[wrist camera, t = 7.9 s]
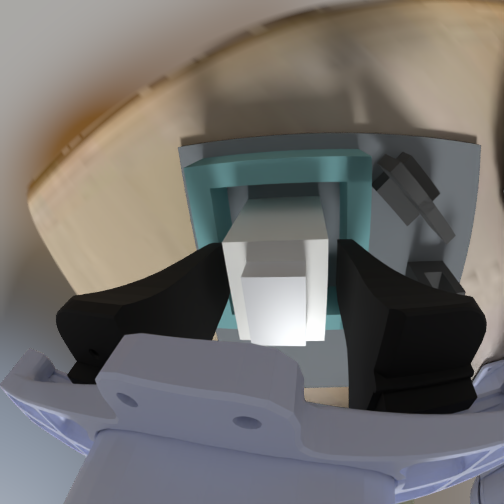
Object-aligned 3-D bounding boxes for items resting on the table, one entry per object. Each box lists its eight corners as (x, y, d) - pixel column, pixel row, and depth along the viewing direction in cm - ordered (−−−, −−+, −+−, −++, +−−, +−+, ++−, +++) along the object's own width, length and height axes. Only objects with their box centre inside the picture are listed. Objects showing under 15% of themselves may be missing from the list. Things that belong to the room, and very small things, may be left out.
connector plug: (319, 195, 13) (330, 254, 8) (320, 275, 15) (324, 359, 10) (248, 199, 14) (213, 256, 9) (257, 276, 16) (235, 357, 11)
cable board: (476, 144, 10) (516, 156, 7) (420, 375, 18) (430, 409, 15) (180, 146, 13) (146, 158, 10) (231, 380, 21) (221, 415, 18)
